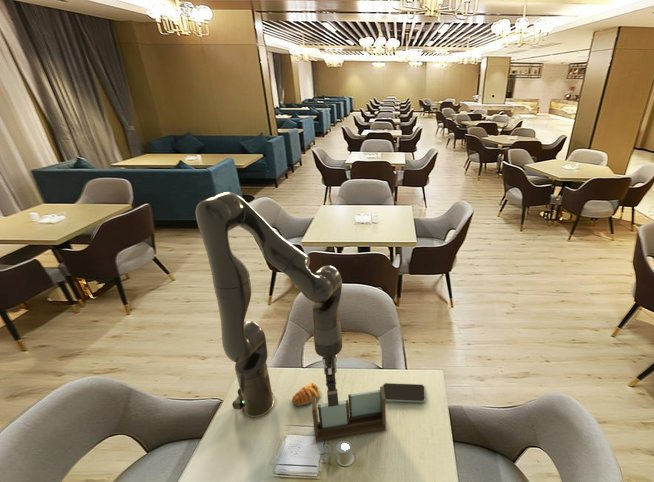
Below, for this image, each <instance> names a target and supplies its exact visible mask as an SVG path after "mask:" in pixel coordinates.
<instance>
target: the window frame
mask: <svg viewBox="0 0 654 482" xmlns="http://www.w3.org/2000/svg"><path fill="white" fill-rule="evenodd" d="M347 397H348V398H347V400H348V402H349V417H350V424H348V425H342V426H336V427H330V428H324V429H320V421H319V413H318V404H317V400H316V396H315V397H312V402H311V413H312V414H311V415H312V422H313V431H314V437H315V438H314V439H315V443H319V442H326V441H331V440H337V439H343V438H348V437H354V436H361V435H367V434H371V433H377V432H384V431H386V430H387V425H386V424H387V423H386V421H387V420H386V414H387V413H386V411H387V409H386V408H387V407H386V406H387V405H386V404H387V403H386V402H387V401H386V399H385V394H384V389H383V385H382V386H379V389H377V390H372V391H364V392H357V393H349V394H348V395H347Z"/></svg>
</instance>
